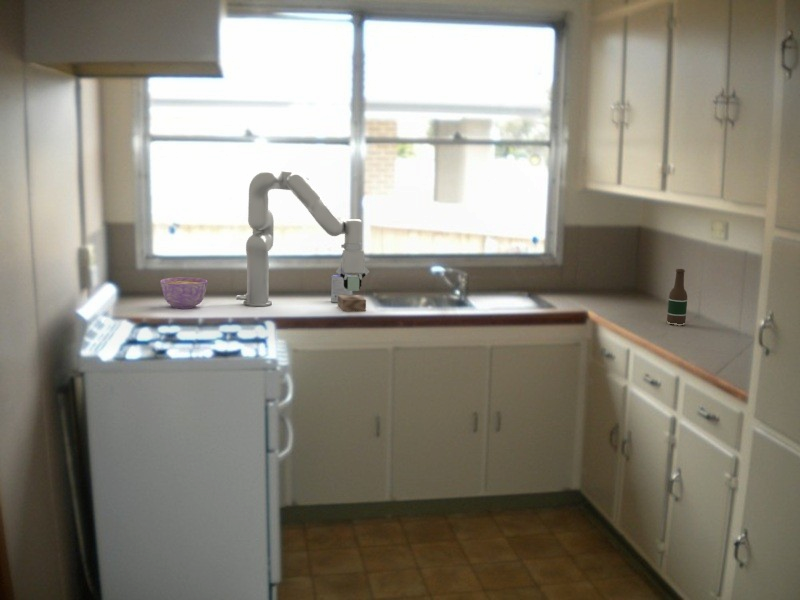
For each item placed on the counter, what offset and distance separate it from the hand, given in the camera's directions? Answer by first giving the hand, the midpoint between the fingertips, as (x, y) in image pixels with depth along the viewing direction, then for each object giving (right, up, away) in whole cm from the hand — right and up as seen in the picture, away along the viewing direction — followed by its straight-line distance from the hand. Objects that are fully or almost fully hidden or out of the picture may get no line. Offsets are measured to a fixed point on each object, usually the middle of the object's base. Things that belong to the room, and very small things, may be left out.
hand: (352, 287), depth 398 cm
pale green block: (0, -1, 0) cm, 1 cm away
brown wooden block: (0, -9, +2) cm, 9 cm away
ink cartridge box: (-6, -6, +19) cm, 21 cm away
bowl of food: (-72, -9, -8) cm, 73 cm away
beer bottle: (+140, -16, -10) cm, 141 cm away
